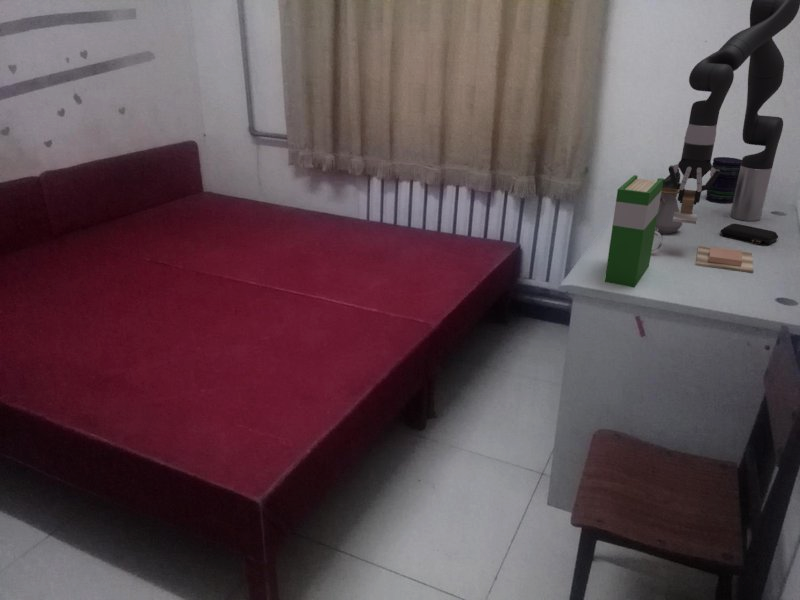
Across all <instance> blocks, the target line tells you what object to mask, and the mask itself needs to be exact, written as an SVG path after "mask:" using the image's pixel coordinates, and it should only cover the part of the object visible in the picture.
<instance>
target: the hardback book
mask: <svg viewBox="0 0 800 600" xmlns="http://www.w3.org/2000/svg"><path fill="white" fill-rule="evenodd" d="M658 179H659V178H658ZM658 179H657V180H658ZM664 179H665V178H660V179H659V180H658V181H657V180H651V179H643V178H642V179H641V178H638V175H637V174H635V175H632V176H631V177H630V178H629V179H628V180H627V181H626V182H624V183H623V184H621V186H620V187H618V189H617V192H616V199H615V205H614V212H613V220H612V227H611V228H612V229H611V235H610V242H609V250H608V255H607V263H606V270H605V278H604V283H608V284H613V285H619V286H623V287H629V288H633V289H635V287H636V286H638V283H639V282H640V281H641V279H642V277H643V276H644V274H645V273H646V272H647V270H648V268H649V267H650V261H651V256H652V253H651V251H652V249H653V244H654V239H655V227H656V221H657V215H658V209H659V204H660V198H661V192H662V186H663V180H664Z"/></svg>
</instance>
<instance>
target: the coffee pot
mask: <svg viewBox="0 0 800 600" xmlns="http://www.w3.org/2000/svg"><path fill="white" fill-rule="evenodd" d="M677 195H679V191H678V190H676V189H672V188H662V192H661V198H660V204H659V209H658V215H657V221H656V230H657V228H658V232H659V233H660V234H664V235H666V234H668V233H669V234H673V233H674V232H675V231H677V230H679V229H680V228H681V227H682V225H683V222H674V221H673V216H674V212H679V213H680V209H679V208H680V207H679V205H678V199H677V197H678V196H677Z"/></svg>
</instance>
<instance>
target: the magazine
mask: <svg viewBox="0 0 800 600" xmlns="http://www.w3.org/2000/svg"><path fill="white" fill-rule="evenodd" d="M676 177H677V180H678V182H679V183H681V182H680V181H681V173H680V169H679V168H678V169H677V172H676ZM659 179H660V178H657V180H656V181H658V180H659ZM663 179H664V180H663V186H662V188H672V189H676V190H678V191H679V189H678V188H676V187H674V186H673V183H672V180H671V177H670V174H669V175H667V177H665V178H663Z"/></svg>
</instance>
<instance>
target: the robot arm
mask: <svg viewBox="0 0 800 600" xmlns="http://www.w3.org/2000/svg"><path fill="white" fill-rule="evenodd" d="M799 10H800V0H751V5H750V9H749V27H747V28H745V29H743V30H740V31H739V32H736V33H735V34H734V35H732V36H731V37H730V38H729V39H728V40H727V41H726V42H725V43H724V44H723V45H722V46H721V47H720V49H718V50H717V51H715V52H714V53H713V52H712V53H711V54H709V56H707V57H705V58H704V59H701V60H700V61H699V62H698V63H697V64H696V65H695V66H694V67H693V68H692V70H691V71H690V74H689V78H688V83H689V85H690V88H691V89H693V90H695V91H699V92H709V93H710V95H709V96H708V97H707V99H705V100H704V99H703V100H697V101H695V102H693V103H692V105H691V109H690V113H689V119H688V125H687V128H686V131H685V136H684V143H683V146H682V147H683V148H682V153H681V158H680V161H678V163H677V164H670V165H669V166H668V173H669V175H670V177H671V180H672V183H673V186H674V187H676V188H678V189H679V193H678V194H677V195H678V196H677V202H679V204H682V200H683V195H684V192H685V190H686V189H685V187H686V184H687V182H688V180H689V179H694V180H696V190H695V191H696V193H695V200H694V205H693V206H696V205H697V203H700V200H701V196H702V195H701V194H702V192H704V191H707V190H708V189H709V188H710V187H711V185H712V184H713V183H714V181H715V180H716V178H717V177H718V176H719V174H720V170H719V169H715V168H713V167H712V162H711V161H712V156H713V152H714V146H715V142H716V136H717V127H718V126H717V125H718V123H719V115H720V111H721V108H722V106H723V103H724V101H725V99H726V97H727V96H728V93H729V91H730V88H731V87H732V85H733V81H734V78H735V73H734V72H735V71H737V70H738V69H739V68H740V67H741V66H742V65H743V64H744V63H745V62H746V60H747V59H748V58H749V62H748V72H747V93H746V94H747V95H746V109H745V113H744V119H743V120H744V121H743V127H742V141H743V143H745V144H747V145H751V146H752V145H753V146H762V147H764V150H761V151H760V152H757V153H752V154H747V155H744V156H743V157H742V159H741V160H742V162H741V167H740V171H739V176H738V181H737V185H736V190H735V195H734V199H733V203H731V204H732V205H731V209H730V213H729V216H730V217H731V218H733V219H736V220H740V221H746V222H747V221H748V222H755V221H760V220H761V217H762V213H763V210H764V209H763V208H764V205H765V201H766V197H767V192H768V188H769V184H770V181H771V180H770V179H771V173H772V172H773V171H772V170H773V166H774V161H775V157H776V153H777V150H778V146H779V142H780V139H781V136H782V133H783V129H784V128H783V127H784V120H783V118H782V117H779V116H772V115H771V116H770V115H760V114H758V113H759V111H760V110H761V108H762V106H764V104H765V103H766V102H767V101H768V100H769V99H770V98H771V97H772V96H774V94H776V92H777V91H778V90H779V89H780V87H781V85H782V83H783V78H784V71H785V60H784V57H783V55H782V52H781V50H780V49H779V47H778V46H777V44H776V43H775V40H774V39H773V38H774V37H775V36H776V35H777V34H778V33H780V32H781V31H783V30H784V29H785V28H787V27H788V26H789V25H790V24H791V23H792V22H793V21H794V19H795V18H796V16H797V15H798V12H799ZM677 169H679V171H680V172H681V174H682V176H683V177H682V180H681V182H680V183H679V182H678V180H677V177H676V172H677ZM709 172H710V173H709ZM707 173H709V175H710V178H709V179H708V180H707V181H706V183H705V184H703V177H704V176H705V175H706V174H707Z"/></svg>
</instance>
